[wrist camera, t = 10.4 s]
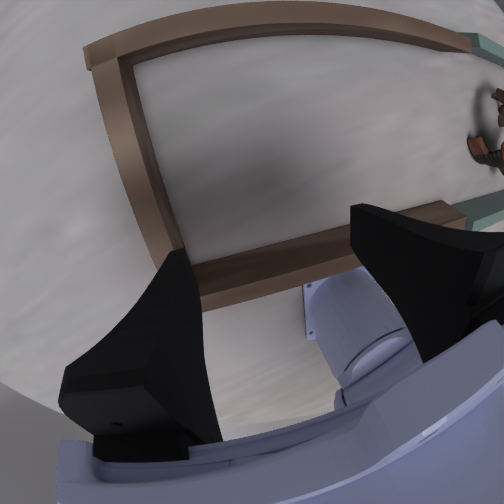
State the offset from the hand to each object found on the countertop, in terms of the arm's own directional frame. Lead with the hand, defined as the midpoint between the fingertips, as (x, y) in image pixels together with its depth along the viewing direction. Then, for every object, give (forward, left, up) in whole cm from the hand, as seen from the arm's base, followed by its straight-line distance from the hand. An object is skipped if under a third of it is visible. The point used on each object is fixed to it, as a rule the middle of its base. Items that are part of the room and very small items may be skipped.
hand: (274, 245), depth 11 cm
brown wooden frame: (+2, -8, -9) cm, 12 cm away
